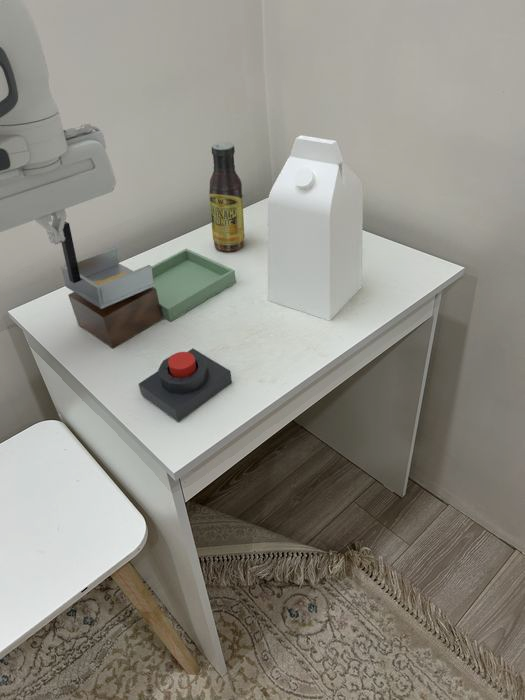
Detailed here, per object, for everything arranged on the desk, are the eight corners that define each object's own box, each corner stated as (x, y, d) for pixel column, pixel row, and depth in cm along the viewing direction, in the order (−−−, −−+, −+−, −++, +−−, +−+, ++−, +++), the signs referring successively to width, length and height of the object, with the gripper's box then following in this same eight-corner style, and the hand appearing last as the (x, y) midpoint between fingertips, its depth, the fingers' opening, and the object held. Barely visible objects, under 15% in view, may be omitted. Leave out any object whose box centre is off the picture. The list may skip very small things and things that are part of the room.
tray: (170, 321, 90) (168, 309, 88) (123, 294, 97) (120, 282, 95) (236, 282, 98) (234, 270, 96) (188, 259, 105) (186, 248, 104)
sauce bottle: (209, 251, 107) (195, 150, 94) (220, 236, 112) (209, 138, 99) (240, 255, 105) (231, 152, 93) (250, 239, 110) (243, 139, 97)
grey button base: (178, 422, 72) (173, 400, 69) (141, 395, 76) (135, 373, 74) (232, 382, 77) (229, 360, 75) (194, 359, 82) (191, 338, 79)
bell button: (181, 382, 73) (179, 372, 71) (164, 370, 75) (162, 361, 73) (201, 368, 74) (200, 358, 73) (184, 357, 76) (182, 348, 75)
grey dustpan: (94, 312, 79) (78, 234, 72) (58, 289, 85) (41, 214, 78) (155, 285, 86) (146, 212, 79) (119, 266, 92) (107, 195, 85)
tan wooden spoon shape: (94, 293, 83) (94, 290, 82) (85, 288, 84) (84, 284, 84) (130, 279, 87) (130, 275, 86) (121, 274, 88) (120, 270, 88)
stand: (112, 348, 85) (103, 317, 81) (78, 324, 90) (67, 294, 87) (162, 319, 90) (156, 288, 86) (127, 298, 96) (119, 268, 92)
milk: (362, 286, 94) (372, 132, 78) (329, 320, 87) (334, 159, 71) (302, 269, 100) (300, 122, 83) (267, 300, 93) (258, 146, 76)
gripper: (86, 117, 75) (108, 211, 84) (-64, 156, 64) (-22, 261, 72) (112, 124, 72) (132, 222, 80) (-42, 168, 60) (0, 276, 69)
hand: (58, 241), depth 76 cm, fingers closed, pressing on grey dustpan
